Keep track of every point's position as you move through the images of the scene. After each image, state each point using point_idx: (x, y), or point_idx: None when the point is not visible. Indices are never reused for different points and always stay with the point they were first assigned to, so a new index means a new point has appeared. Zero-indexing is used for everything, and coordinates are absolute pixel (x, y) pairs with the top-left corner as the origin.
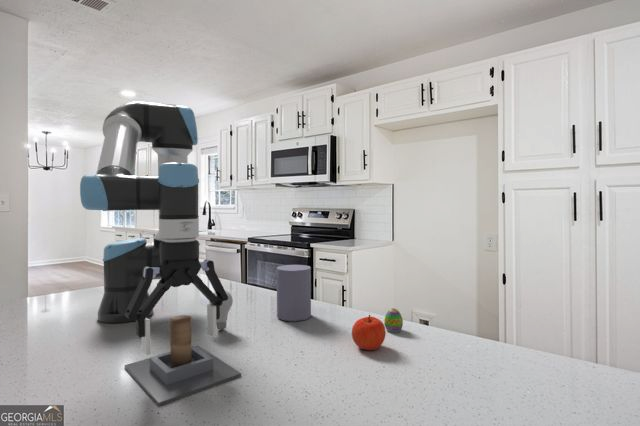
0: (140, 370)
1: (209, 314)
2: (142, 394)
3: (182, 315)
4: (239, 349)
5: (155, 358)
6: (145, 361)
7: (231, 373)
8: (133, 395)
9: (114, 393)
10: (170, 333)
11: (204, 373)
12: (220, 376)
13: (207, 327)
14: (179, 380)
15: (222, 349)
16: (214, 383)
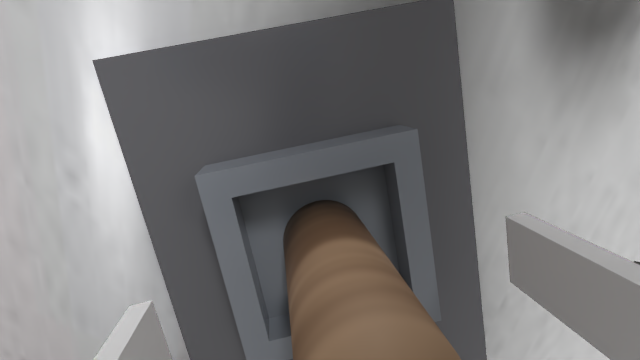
0: (166, 165)
1: (617, 310)
2: (172, 336)
3: (420, 333)
4: (580, 132)
5: (221, 203)
6: (191, 70)
7: (461, 349)
8: None
9: (76, 288)
10: (291, 333)
11: None
12: None
13: (532, 232)
14: None
15: (527, 91)
16: None
